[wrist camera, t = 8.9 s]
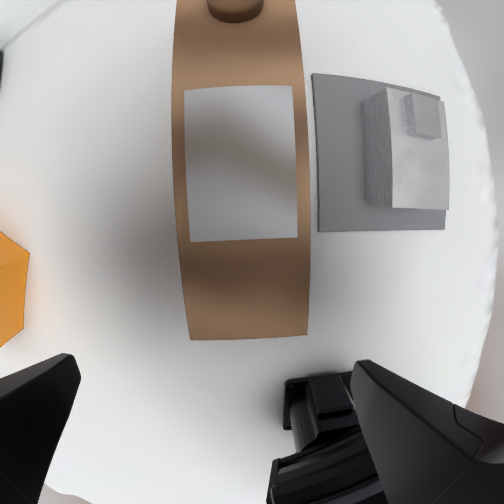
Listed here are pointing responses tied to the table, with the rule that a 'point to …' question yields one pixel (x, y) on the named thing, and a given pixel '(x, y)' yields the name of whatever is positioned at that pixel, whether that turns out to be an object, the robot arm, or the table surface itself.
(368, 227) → the rubber mat
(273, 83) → the hand plane
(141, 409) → the table surface
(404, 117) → the lever cap
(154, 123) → the table surface
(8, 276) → the orange juice
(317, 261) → the table surface
